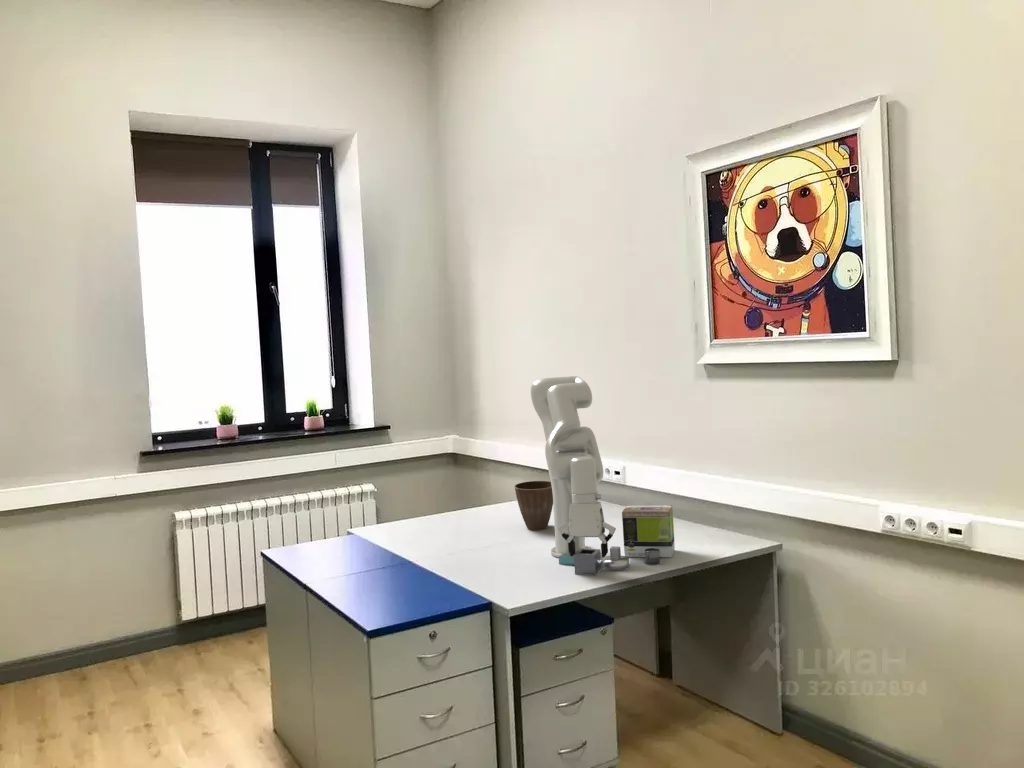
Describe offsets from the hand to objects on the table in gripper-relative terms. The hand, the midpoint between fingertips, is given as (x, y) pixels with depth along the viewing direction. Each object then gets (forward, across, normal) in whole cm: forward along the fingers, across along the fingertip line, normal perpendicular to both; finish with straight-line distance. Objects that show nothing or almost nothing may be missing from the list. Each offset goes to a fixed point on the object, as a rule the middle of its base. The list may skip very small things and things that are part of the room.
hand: (588, 555), depth 248 cm
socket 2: (+5, -16, -13) cm, 22 cm away
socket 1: (+5, +1, -1) cm, 5 cm away
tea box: (+5, -13, -23) cm, 27 cm away
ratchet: (+5, +1, -8) cm, 9 cm away
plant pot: (+3, +34, -49) cm, 60 cm away
